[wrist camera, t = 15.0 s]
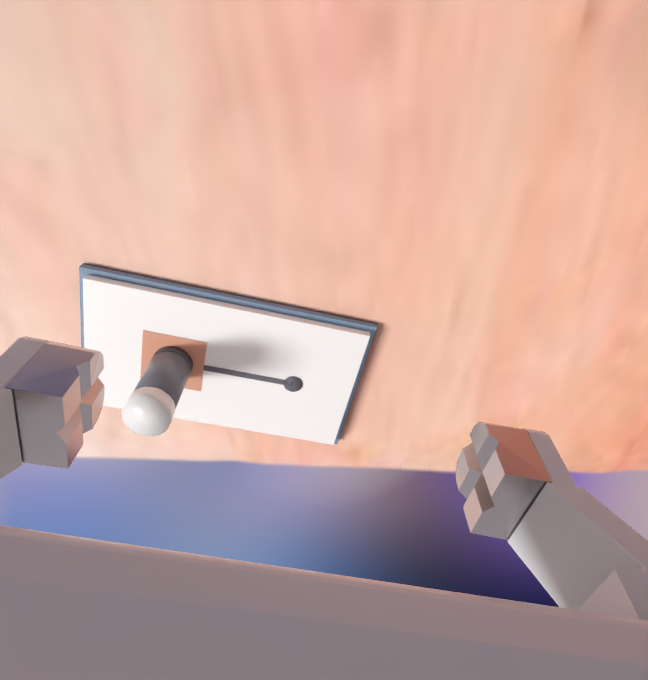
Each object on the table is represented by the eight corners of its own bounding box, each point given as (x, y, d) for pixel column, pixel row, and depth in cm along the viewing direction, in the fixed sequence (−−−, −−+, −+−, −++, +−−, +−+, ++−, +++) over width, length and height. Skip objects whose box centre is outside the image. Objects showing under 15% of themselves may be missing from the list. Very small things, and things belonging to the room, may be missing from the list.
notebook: (376, 323, 40) (378, 332, 39) (337, 439, 47) (337, 450, 46) (82, 263, 37) (75, 271, 36) (85, 396, 44) (79, 406, 43)
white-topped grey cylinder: (196, 351, 40) (172, 405, 34) (190, 383, 41) (166, 440, 35) (154, 341, 39) (123, 394, 33) (150, 374, 41) (119, 430, 35)
